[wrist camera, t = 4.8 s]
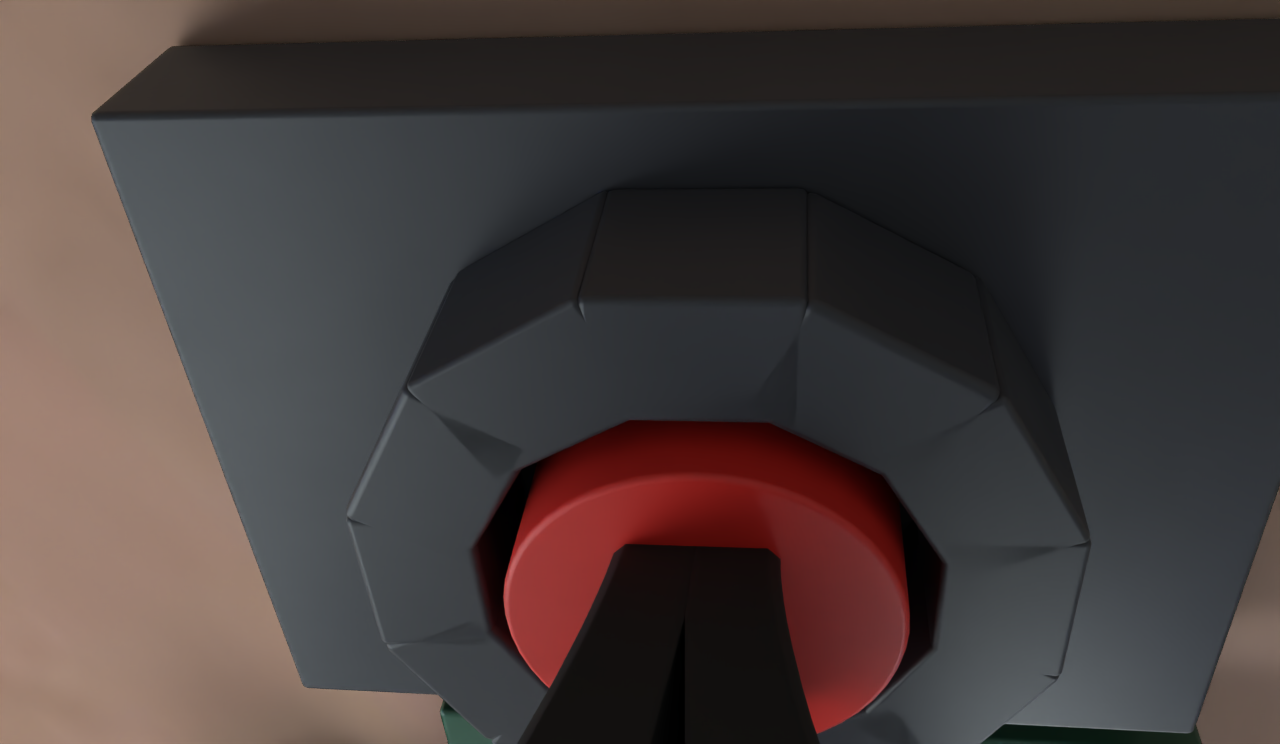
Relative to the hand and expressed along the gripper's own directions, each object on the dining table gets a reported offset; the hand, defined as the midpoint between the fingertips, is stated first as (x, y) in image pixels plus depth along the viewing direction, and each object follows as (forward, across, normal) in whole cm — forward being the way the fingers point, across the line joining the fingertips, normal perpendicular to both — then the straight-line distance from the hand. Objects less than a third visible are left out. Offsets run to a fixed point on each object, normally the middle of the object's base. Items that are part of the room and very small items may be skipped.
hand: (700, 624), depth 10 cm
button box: (+4, 0, 0) cm, 4 cm away
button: (+2, 0, 0) cm, 2 cm away
